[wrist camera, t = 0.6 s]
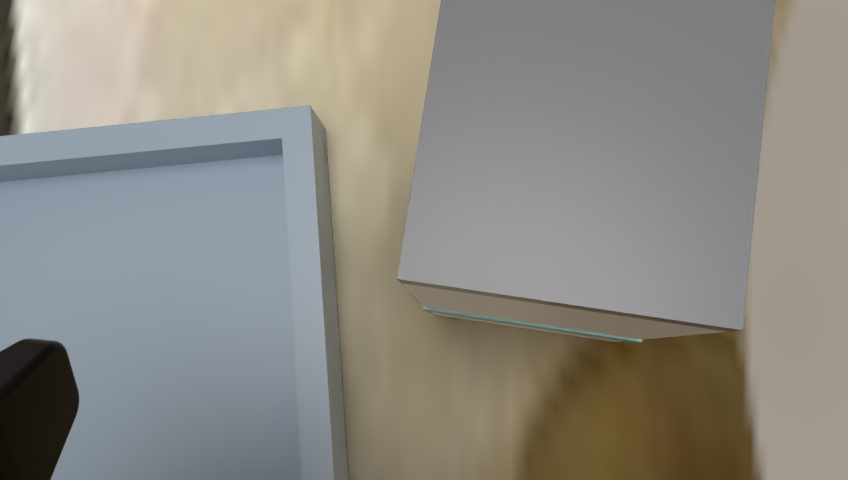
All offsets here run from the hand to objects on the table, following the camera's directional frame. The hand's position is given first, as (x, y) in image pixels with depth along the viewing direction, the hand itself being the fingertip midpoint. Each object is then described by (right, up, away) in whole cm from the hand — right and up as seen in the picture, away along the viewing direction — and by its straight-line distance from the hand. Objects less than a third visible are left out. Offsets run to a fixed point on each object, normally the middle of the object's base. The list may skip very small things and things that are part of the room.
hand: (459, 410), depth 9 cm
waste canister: (+3, +2, +13) cm, 14 cm away
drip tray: (-9, -1, +14) cm, 16 cm away
